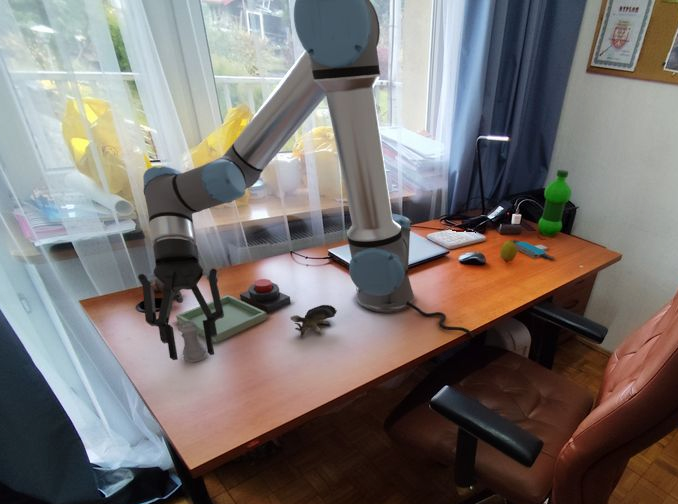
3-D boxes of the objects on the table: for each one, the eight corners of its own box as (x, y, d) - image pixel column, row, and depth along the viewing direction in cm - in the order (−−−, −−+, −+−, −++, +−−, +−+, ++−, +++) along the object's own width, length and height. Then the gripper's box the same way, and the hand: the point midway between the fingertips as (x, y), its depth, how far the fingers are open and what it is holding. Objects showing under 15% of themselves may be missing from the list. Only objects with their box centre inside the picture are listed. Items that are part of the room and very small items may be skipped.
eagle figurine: (319, 341, 92) (344, 318, 98) (299, 315, 89) (326, 293, 95) (301, 345, 97) (325, 323, 103) (281, 321, 94) (307, 300, 100)
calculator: (425, 238, 156) (425, 233, 155) (462, 230, 168) (463, 225, 167) (449, 250, 148) (450, 245, 147) (486, 240, 161) (487, 236, 159)
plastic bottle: (564, 238, 173) (581, 174, 159) (542, 238, 170) (557, 173, 156) (553, 229, 181) (568, 168, 167) (531, 229, 178) (545, 167, 164)
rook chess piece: (213, 352, 87) (204, 319, 83) (200, 364, 83) (190, 331, 79) (192, 349, 87) (182, 316, 83) (179, 361, 84) (167, 327, 79)
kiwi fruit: (516, 262, 145) (521, 240, 141) (510, 267, 141) (514, 244, 137) (502, 258, 147) (506, 236, 143) (495, 262, 143) (499, 240, 139)
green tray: (267, 319, 100) (266, 312, 99) (216, 343, 90) (214, 336, 89) (230, 301, 104) (228, 294, 103) (177, 322, 95) (175, 315, 94)
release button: (276, 289, 105) (274, 282, 104) (262, 294, 102) (261, 287, 101) (265, 284, 106) (263, 277, 105) (251, 289, 103) (250, 282, 102)
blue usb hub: (563, 257, 154) (565, 253, 153) (542, 262, 148) (543, 258, 147) (525, 239, 167) (526, 235, 166) (504, 243, 160) (504, 239, 159)
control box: (290, 303, 107) (289, 289, 104) (268, 313, 102) (266, 299, 99) (263, 291, 110) (261, 277, 108) (240, 301, 105) (238, 286, 103)
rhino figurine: (174, 311, 98) (167, 289, 95) (151, 290, 105) (144, 268, 102) (192, 306, 101) (186, 284, 97) (169, 286, 108) (163, 264, 104)
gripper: (228, 249, 91) (246, 351, 88) (125, 255, 83) (141, 367, 81) (224, 234, 84) (243, 344, 81) (111, 239, 77) (128, 361, 74)
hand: (192, 355), depth 81 cm, fingers open, 6 cm apart
